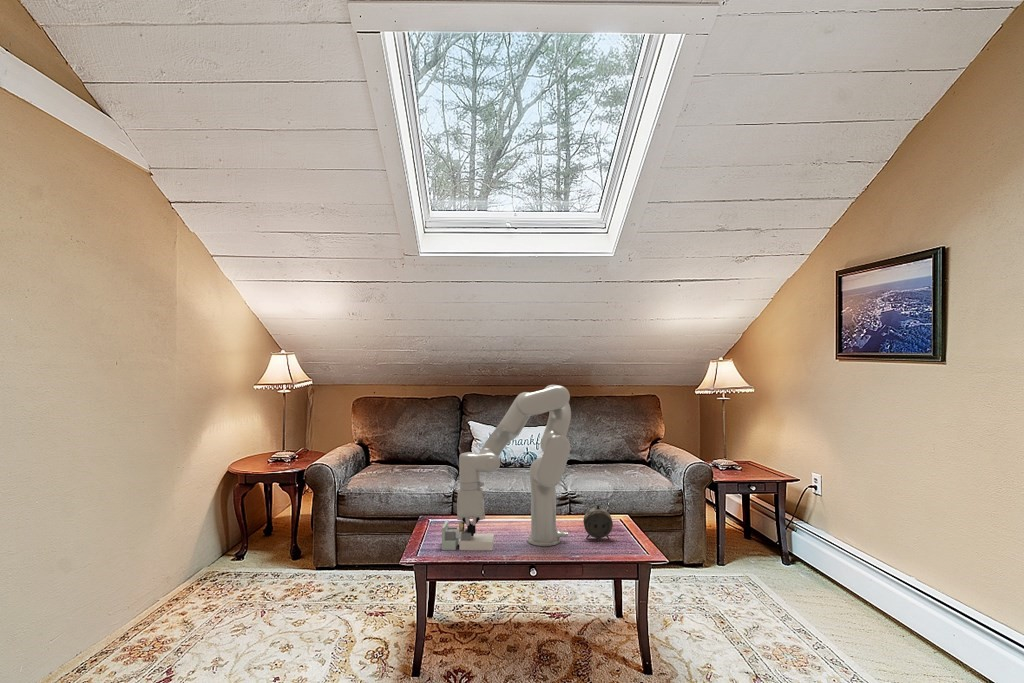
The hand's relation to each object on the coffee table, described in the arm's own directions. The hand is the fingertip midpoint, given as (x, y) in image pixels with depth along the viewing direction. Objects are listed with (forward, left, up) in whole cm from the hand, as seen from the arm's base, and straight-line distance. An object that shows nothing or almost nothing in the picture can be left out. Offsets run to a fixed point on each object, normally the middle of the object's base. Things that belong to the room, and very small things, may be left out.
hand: (471, 535), depth 209 cm
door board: (-2, 0, -4) cm, 4 cm away
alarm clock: (-48, -8, -4) cm, 49 cm away
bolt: (+6, 0, -1) cm, 6 cm away
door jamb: (+8, 0, -4) cm, 9 cm away
